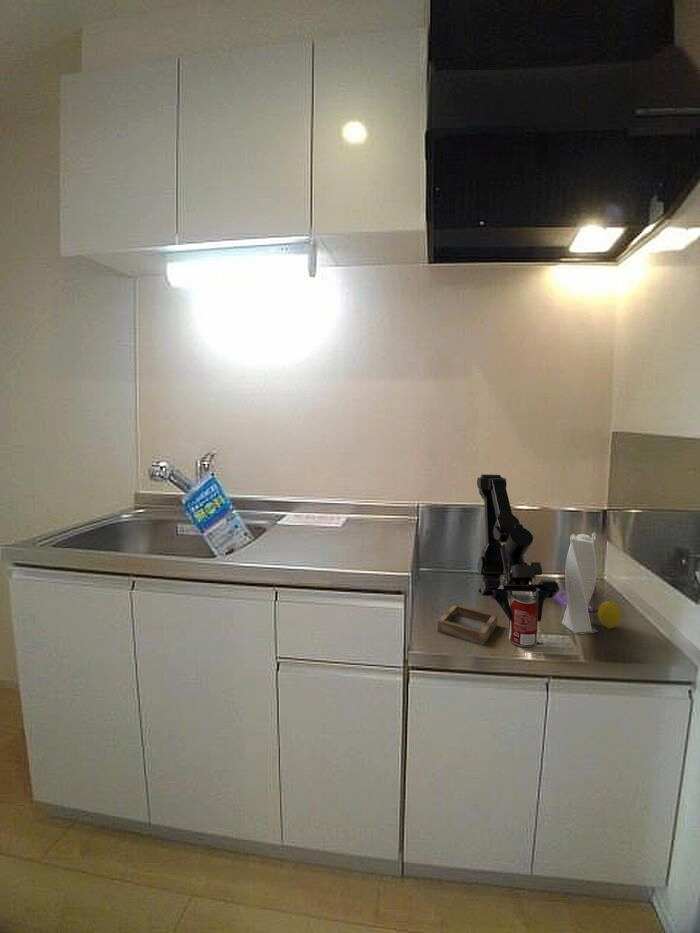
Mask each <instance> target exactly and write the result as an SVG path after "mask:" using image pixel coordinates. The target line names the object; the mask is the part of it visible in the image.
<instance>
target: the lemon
mask: <svg viewBox="0 0 700 933" xmlns="http://www.w3.org/2000/svg"><path fill="white" fill-rule="evenodd" d="M597 618H598V620H599V622H600V624H602V625H603V626H604V627H606V629H612V628H616V627H617V626H619V625H620V623H621V621H622V611H621V608H620V607H619V605H618V604H617V603H616V602H614V601H613V600H607V601H604V602H602V603H600V605H599V607H598V610H597Z"/></svg>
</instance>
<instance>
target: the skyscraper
mask: <svg viewBox="0 0 700 933" xmlns="http://www.w3.org/2000/svg"><path fill="white" fill-rule="evenodd" d="M569 540H570V543H569V547H568V551H567V554H566V555H567V556H566V561H565V567H564V568H565V571H564V585H565V591H566V596H567V603H568V604H567V608H565V611H564V614H563V618H562V620H558V621H557V623H559V624H560V625H562V627H563V628H565V629H566V630H567V631H569V632H570V631H571V633H572V634H573V633H574V634H577V635H582V634H581V633H588V634H596V633H595V632H598V633H599V630H597V629H596V628H594V627H593V626H592V624H591V619H590V614H589V612H588V607H587V606H588V605H589V604H590V601H591V599H592V596H593V593H594V590H595V587H596V581H597V574H598V573H597V572H598V571H597V570H598V569H597V568H598V566H597V555H596V548H595V541H596V540H597V533H596V532H595V531H594V532H592V534H591V536H590V535H588V534H582V533H579V534H577V535H575V533H572V534H571V535H570V536H569ZM574 634H573V635H574Z"/></svg>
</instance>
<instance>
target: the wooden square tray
mask: <svg viewBox="0 0 700 933" xmlns="http://www.w3.org/2000/svg"><path fill="white" fill-rule="evenodd" d="M497 625H498V614H494V613H490V612H486V611H482V610H479V609H475V608H470V607H467V606H463V605H459V604H455V603H454V604H453V605H452V606H451V607H450V608H448V610H447V611H445V613H444V614H443V615H442V616H441V617H440V618H439V619H438V620H437V632H439V633H441V634H445V635H449V636H451V635H452V637H456V638H458V637H459V639H462V640H465V641H468V642H472V643H475V644H478V645H481V646H484V645H485V644H486V642H487V641H488V639H489V638H490V636H491V635H492V634H493V633H494V630H495V629H496V628H497Z"/></svg>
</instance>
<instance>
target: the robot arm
mask: <svg viewBox="0 0 700 933" xmlns="http://www.w3.org/2000/svg"><path fill="white" fill-rule="evenodd" d="M476 486H477V488H478V493H479V495H480V498H482V499H483V502H484V526H485V528H484V529H485V545H484V546H483V548H482V550H481V554H480V557H479V560H478V561H477V571H478V573H479V575H481V576H482V582H481V583H482V584H481V586H480V587H479V589H478V592H480V593H481V596H484V597H490V598H491V599H493V600H495V601H496V603H498V605H499V607H501V609H502V611H503V612H504V614H505V615H506V617H507V618H508V621H509V620H510V621H511V620H512V614H511V610H510V601H509V599H508V598H509V597H508V592H518V593H519V592H520V593H521V592H523V593H525V592H526V593H534V596H533V597H535V598H536V603H537V605H538V607H539V608H538V622H539V623H540V622H541V621H542V615H543V607H544V601H545V600H546V599H553V597H554V596H555V594H556V593H557V592H558V591H560V588H559V584H558V583H557V582H556V580H553V579H551V580H550V579H540V581H539V582H538V583H537V584H530V583H532V582H533V579H536V576H542V575H543V570H542V569H543V567H542V565H541V562H539V561H537V562H536V561H534V562H530V564H528V562H526V560H525V557H524V556H525V554H527V552H528V550H529V548H530V546H531V545H532V543H533V541H534V536H533V534H532V533H531V532H530V530H528V529H527V528H524V526H523V524H521V523H520V520H519V518H517V517H516V516H515V515H514V514H513V512H512V507H511V503H510V500H509V495H508V491H507V478H506V477H502V476H501V474H490V473H489V474H487V473H485V474H484V473H482V474H480V477H477V480H476ZM501 543H504V544H503V545H502V544H501ZM502 576H505V577H504V578H505V581H506V582H505V583H503V582H501V580H502V578H501V577H502Z"/></svg>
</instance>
